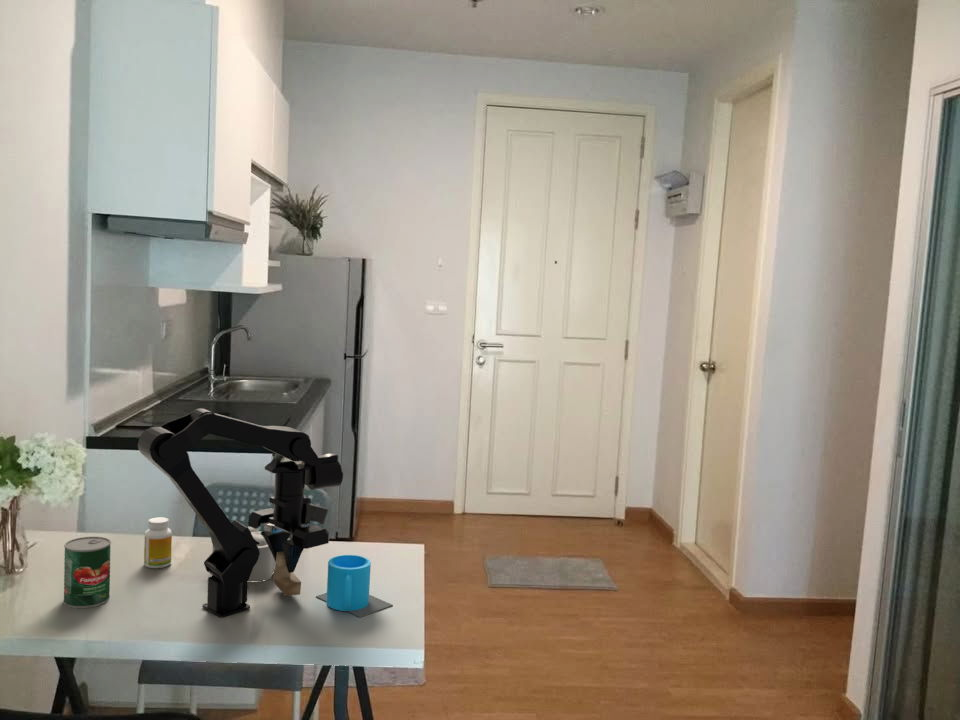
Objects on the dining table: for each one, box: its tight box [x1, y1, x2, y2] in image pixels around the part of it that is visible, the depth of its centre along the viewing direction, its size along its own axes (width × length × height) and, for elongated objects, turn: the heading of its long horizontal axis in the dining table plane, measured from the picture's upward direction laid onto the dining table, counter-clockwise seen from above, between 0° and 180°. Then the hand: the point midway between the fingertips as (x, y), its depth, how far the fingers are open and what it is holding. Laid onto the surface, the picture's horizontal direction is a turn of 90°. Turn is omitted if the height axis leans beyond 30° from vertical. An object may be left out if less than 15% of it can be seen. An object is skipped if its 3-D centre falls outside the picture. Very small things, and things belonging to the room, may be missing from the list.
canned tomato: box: [63, 536, 112, 609], centre depth 157 cm, size 8×8×11 cm
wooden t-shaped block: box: [272, 552, 302, 597], centre depth 165 cm, size 4×8×7 cm, turn 30°
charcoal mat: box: [315, 592, 393, 618], centre depth 165 cm, size 8×13×1 cm, turn 49°
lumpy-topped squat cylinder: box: [211, 526, 276, 582], centre depth 176 cm, size 10×13×9 cm
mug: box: [325, 554, 372, 612], centre depth 161 cm, size 12×8×8 cm
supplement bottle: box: [143, 516, 173, 569], centre depth 178 cm, size 5×5×10 cm
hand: (286, 569), depth 165 cm, fingers closed on wooden t-shaped block, 3 cm apart
